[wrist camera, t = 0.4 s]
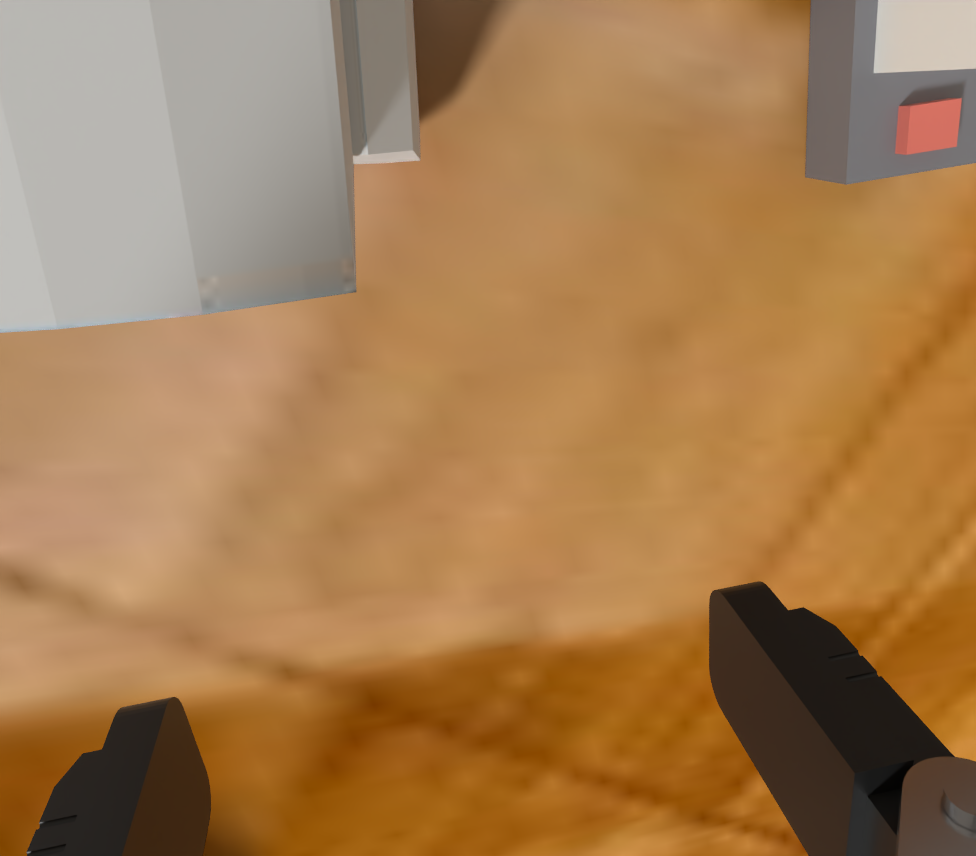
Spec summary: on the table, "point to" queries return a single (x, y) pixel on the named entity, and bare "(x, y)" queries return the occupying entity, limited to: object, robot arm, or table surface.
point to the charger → (925, 35)
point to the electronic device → (191, 151)
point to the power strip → (879, 105)
